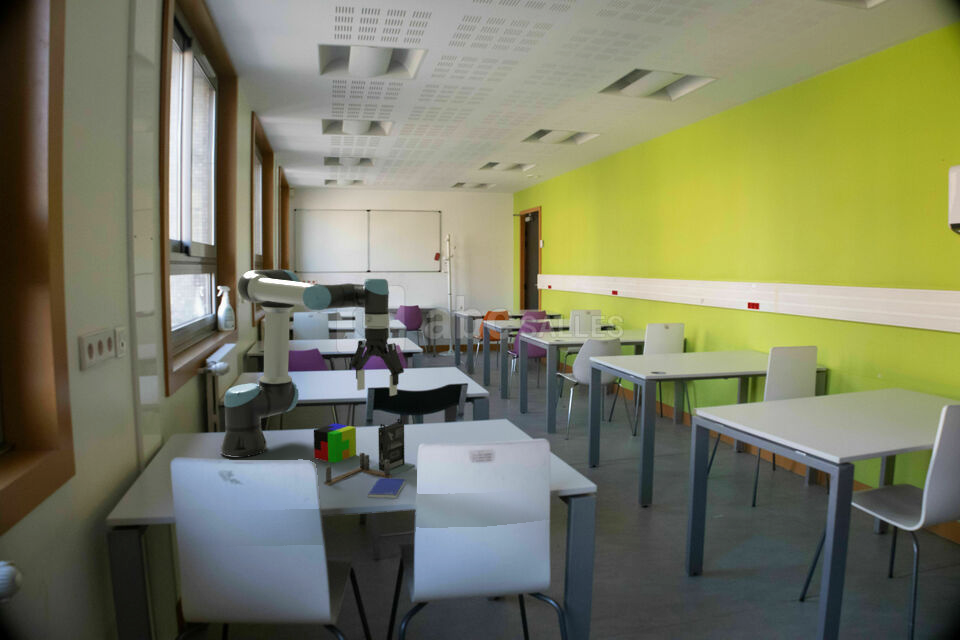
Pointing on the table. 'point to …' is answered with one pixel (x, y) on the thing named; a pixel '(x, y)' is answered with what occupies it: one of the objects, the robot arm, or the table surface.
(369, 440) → the table surface
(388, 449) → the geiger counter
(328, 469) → the wide gate
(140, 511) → the table surface
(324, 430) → the puzzle toy
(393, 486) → the blue book
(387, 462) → the narrow gate
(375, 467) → the pad
